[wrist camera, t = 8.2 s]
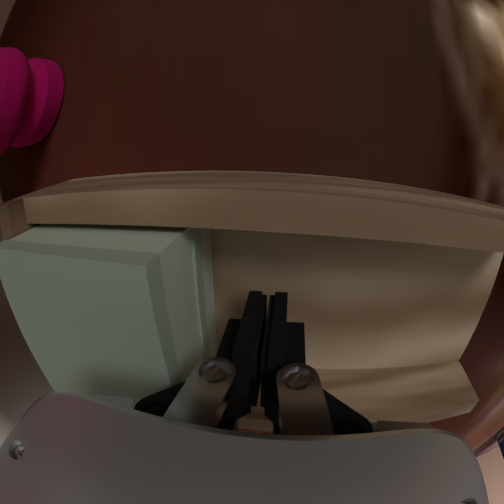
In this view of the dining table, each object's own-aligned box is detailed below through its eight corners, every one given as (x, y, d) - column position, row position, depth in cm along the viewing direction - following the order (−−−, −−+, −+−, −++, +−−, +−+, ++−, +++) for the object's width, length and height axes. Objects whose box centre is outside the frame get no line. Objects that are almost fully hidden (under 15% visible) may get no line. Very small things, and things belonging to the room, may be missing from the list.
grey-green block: (75, 205, 13) (-9, 246, 7) (212, 205, 12) (145, 265, 6) (107, 337, 16) (59, 399, 11) (220, 360, 15) (192, 447, 10)
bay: (74, 178, 14) (-4, 205, 8) (501, 206, 11) (569, 243, 5) (108, 337, 18) (66, 391, 13) (446, 361, 15) (474, 422, 10)
